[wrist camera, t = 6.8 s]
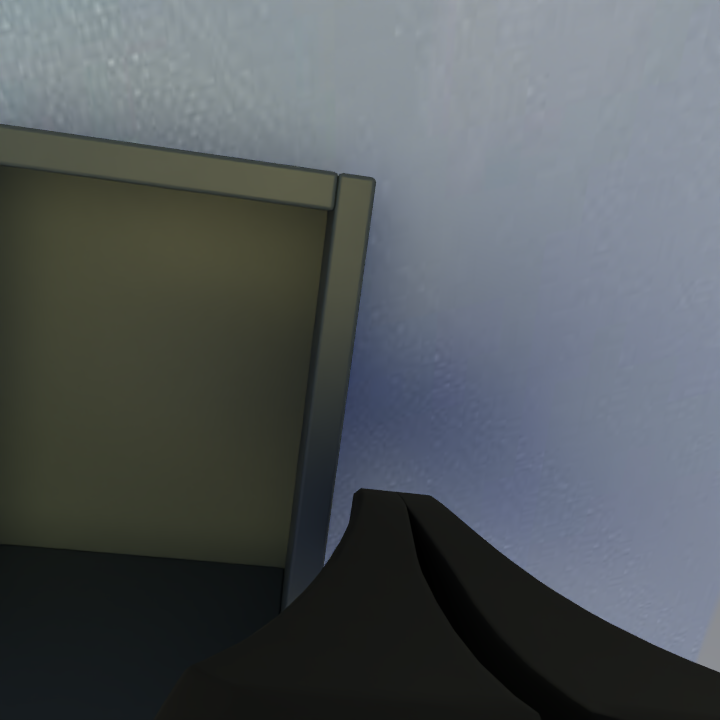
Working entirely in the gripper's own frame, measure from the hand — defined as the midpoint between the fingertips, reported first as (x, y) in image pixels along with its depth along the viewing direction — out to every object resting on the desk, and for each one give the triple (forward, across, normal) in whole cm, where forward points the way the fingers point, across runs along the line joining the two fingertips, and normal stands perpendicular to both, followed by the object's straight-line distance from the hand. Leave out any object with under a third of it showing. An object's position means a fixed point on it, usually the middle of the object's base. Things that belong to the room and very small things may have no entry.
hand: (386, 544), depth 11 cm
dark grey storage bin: (+4, +1, 0) cm, 5 cm away
